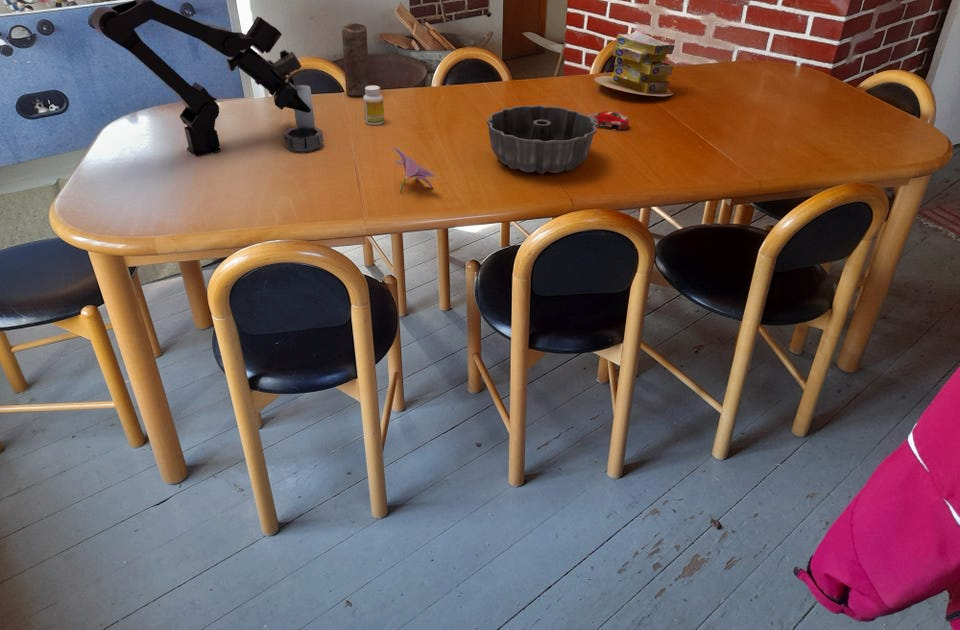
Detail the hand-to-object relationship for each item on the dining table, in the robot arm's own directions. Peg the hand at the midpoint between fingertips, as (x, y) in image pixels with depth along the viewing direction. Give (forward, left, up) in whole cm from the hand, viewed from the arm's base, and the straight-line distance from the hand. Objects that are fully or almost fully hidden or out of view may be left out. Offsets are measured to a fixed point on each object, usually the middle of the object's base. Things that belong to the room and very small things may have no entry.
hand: (308, 108), depth 182 cm
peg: (-1, +1, -7) cm, 7 cm away
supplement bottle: (+18, -3, -7) cm, 19 cm away
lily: (0, -46, -7) cm, 47 cm away
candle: (+28, +21, -7) cm, 35 cm away
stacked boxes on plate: (+97, -30, -7) cm, 102 cm away
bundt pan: (+34, -52, -7) cm, 63 cm away
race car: (+66, -45, -7) cm, 80 cm away
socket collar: (-6, -7, -7) cm, 12 cm away
